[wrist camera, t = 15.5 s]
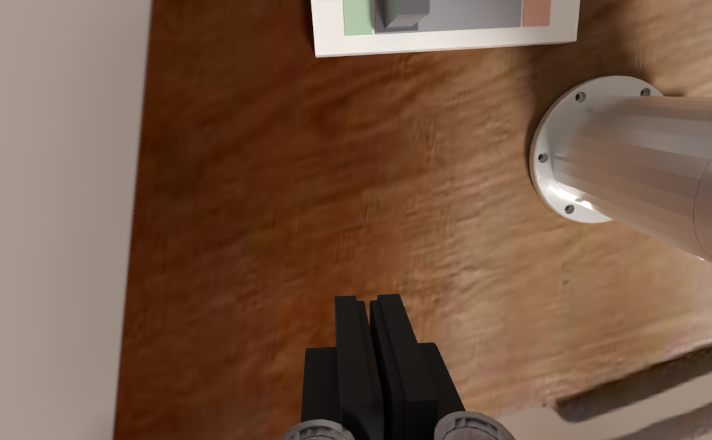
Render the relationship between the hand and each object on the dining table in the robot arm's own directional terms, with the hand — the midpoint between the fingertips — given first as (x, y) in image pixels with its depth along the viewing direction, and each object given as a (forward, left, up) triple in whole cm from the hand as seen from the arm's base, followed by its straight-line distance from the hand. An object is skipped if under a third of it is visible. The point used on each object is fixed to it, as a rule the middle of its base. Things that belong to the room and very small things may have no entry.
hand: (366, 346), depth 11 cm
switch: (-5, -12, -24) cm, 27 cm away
